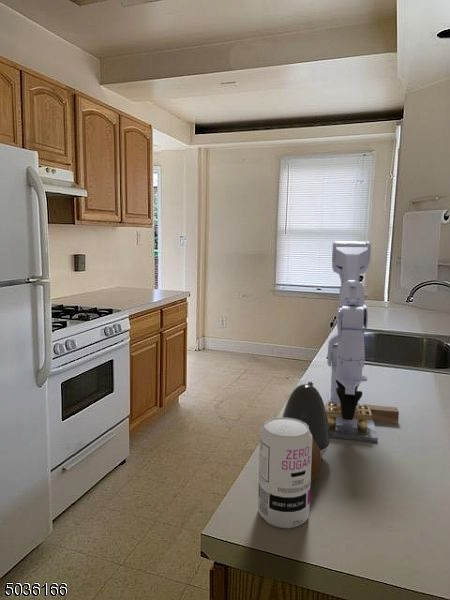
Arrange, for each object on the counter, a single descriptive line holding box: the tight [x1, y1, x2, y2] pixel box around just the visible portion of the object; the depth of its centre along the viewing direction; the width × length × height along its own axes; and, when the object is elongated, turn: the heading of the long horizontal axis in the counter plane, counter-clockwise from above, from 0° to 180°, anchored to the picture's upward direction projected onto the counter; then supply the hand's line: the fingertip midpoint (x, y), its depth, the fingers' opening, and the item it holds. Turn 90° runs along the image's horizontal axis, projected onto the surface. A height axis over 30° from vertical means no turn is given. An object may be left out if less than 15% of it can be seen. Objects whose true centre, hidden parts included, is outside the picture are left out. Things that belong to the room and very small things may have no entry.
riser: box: [363, 403, 400, 424], centre depth 108 cm, size 3×8×3 cm, turn 77°
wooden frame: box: [325, 402, 372, 420], centre depth 102 cm, size 6×10×1 cm, turn 78°
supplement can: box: [257, 416, 312, 529], centre depth 69 cm, size 8×8×15 cm
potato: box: [311, 438, 322, 483], centre depth 80 cm, size 8×12×9 cm
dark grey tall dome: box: [282, 381, 331, 458], centre depth 89 cm, size 10×10×15 cm
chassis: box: [327, 404, 379, 443], centre depth 102 cm, size 10×13×5 cm
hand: (347, 413), depth 102 cm, fingers closed on wooden frame, 6 cm apart
